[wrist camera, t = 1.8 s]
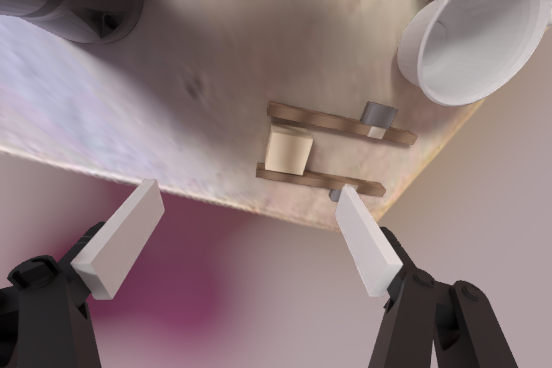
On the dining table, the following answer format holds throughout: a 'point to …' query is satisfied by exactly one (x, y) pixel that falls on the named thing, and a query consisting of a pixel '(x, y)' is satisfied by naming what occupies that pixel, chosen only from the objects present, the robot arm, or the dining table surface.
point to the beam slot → (370, 124)
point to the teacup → (470, 46)
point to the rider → (287, 149)
